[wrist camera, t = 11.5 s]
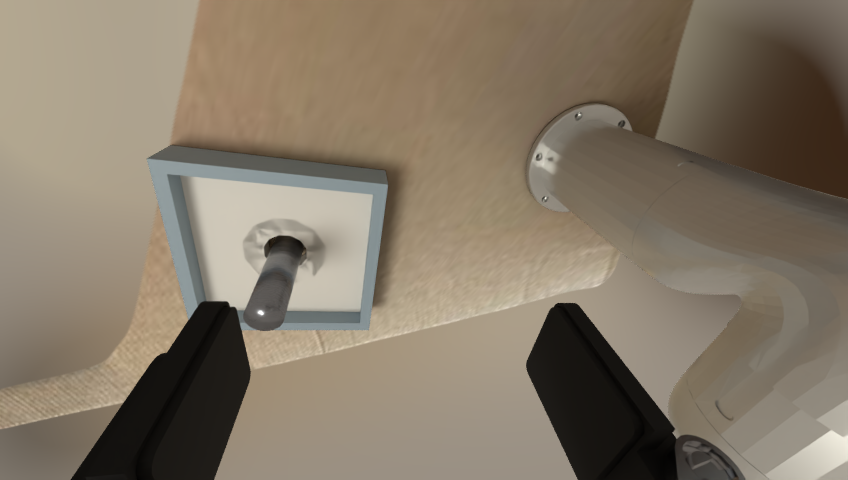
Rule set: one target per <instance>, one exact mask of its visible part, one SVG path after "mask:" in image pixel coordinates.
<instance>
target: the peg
mask: <svg viewBox="0 0 848 480" xmlns="http://www.w3.org/2000/svg"><path fill="white" fill-rule="evenodd" d="M303 249H304V245H303V243H302V242H301V241H300V240H298V239H296V238H294V237H292V236H285V235H278V236H276V238H275V241H274V243H273V245H272V248H271V250H270V252H269V255H268V257H267V259H266V262H265V264H264V266H263V269H262V271H261V273H260V276H259V278H258V280H257V283H256V285H255V287H254V290H253V292H252V294H251V297H250V299H249V302H248V304H247V306H246V309H245V311H244V313H243V319H244V321H245V323H246V324H247V325H248V326H250V327H251V328H253V329H256V330H260V331H270V330H274V329H277V328H278V327H280V326H281V325H282V324H283V322H284V319H285V315H286V311H287V308H288V304H289V300H290V297H291V293H292V289H293V286H294V282H295V278H296V275H297V271H298V267H299V264H300V260H301V256H302V252H303Z"/></svg>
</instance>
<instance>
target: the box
mask: <svg viewBox="0 0 848 480" xmlns="http://www.w3.org/2000/svg"><path fill="white" fill-rule="evenodd" d="M147 162H148V165H149V169H150V173H151V177H152V181H153V185H154V188H155V192H156V196H157V200H158V204H159V208H160V212H161V215H162V219H163V223H164V227H165V231H166V235H167V239H168V242H169V246H170V250H171V254H172V258H173V262H174V265H175V269H176V273H177V277H178V281H179V285H180V289H181V292H182V296H183V300H184V304H185V308H186V312H187V315H188V319H190V317H191V316H192V314H193V313H194V311H195V310H196V308H197V307H198V305H199V304H200V303H201V302H203V301H227V302H228V303H229V304H230V307H236V309H237V313H238V317H239V322H240V326H241V330H256V329H253V328H251V327H250V326H248V325H247V324H246V323H245V321H244V319H243V313H244V311H245V309H246V306H247V304H248V302H249V299H250V297H251V294H252V292H253V290H254V287H255V285H256V283H257V280H258V278H259V276H260V273H261V271H262V269H263V266H264V264H265V262H266V259H267V257H268V255H269V252H270V250H271V248H270V247H269V241H268V240H269V239H271V238H273V237H276V236H278V235H285V236H292V237H294V238H296V239H298V240H300V241H301V242H302V243H303V245H304V246H305V248H306V249H307V252H306V253H305V254H304V255H303V256H301V260H300V264H299V267H298V271H297V275H296V278H295V282H294V286H293V289H292V293H291V297H290V300H289V304H288V308H287V311H286V315H285V319H284V322H283V324H282V325H281V326H280V327H278V328H277V329H274V330H369V325H370V318H371V310H372V303H373V295H374V288H375V280H376V272H377V265H378V257H379V250H380V242H381V235H382V227H383V219H384V212H385V204H386V197H387V189H388V182H387V176H386V171H385V170H376V169H368V168H359V167H351V166H343V165H334V164H326V163H317V162H309V161H300V160H292V159H283V158H275V157H266V156H258V155H250V154H241V153H233V152H224V151H216V150H207V149H199V148H190V147H182V146H173V145H170V146H168V147H167V148H165V149H163V150H161V151H159V152H158V153H156V154H154V155H152V156H151V157H149V158H147Z"/></svg>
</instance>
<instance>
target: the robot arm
mask: <svg viewBox="0 0 848 480" xmlns="http://www.w3.org/2000/svg"><path fill="white" fill-rule="evenodd" d="M536 155H537V156H536ZM526 180H527V186H528V188H529V190H530V193H531V194H532V196H533V197H534V198H535V200H537V201H538V202H539V203H540V204H541V205H542V206H544V207H546V208H547V209H550V210H553V211H556V212H572V213H573V214H575V215H576V216H577V217H578V218H579V219H581V220H582V221H583V222H584V223H586V224H587V225H588V226H589V227H590V228H592V229H593V230H594V231H595V232H597V233H598V234H599V235H600V236H601V237H603V238H604V239H605V240H606V241H608V242H609V243H610V244H611V245H612V246H614V247H615V248H616V249H617V250H619V251H620V252H621V253H622V254H623V255H625V256H626V257H627V258H628V259H630V260H631V261H632V262H633V263H635V264H636V265H637V266H638V267H640V268H641V269H642V270H644V271H645V272H646V273H647V274H648V275H650V276H651V277H652V278H654V279H655V280H657V281H658V282H660V283H662V284H664V285H666V286H668V287H670V288H673V289H676V290H679V291H683V292H688V293H695V294H737V295H738V296H739V297H740V298H741V306H740V308H739V310H738V312H737V313H736V314H735V315H734V316H733V318H732V319H731V320H730V321H729V322H728V324H727V327H726V328H725V329H724V330H723V331H722V332H721V333H720V335H718V337H717V338H716V339H715V340H714V341H713V342H712V343H711V344H710V345H709V346H708V347H707V349H706V350H705V351H704V352H703V353H702V354H701V355H700V356H699V357H698V358H697V359H696V361H695V362H694V363H693V364H692V365H691V366H690V367H689V368H688V369H687V371H686V372H685V373H684V374H683V375H682V377H681V378H680V379H679V381H678V382H677V383H676V385H675V386H674V388H673V391H672V393H671V395H670V398H669V403H668V415H669V420H670V421H669V420H668V419H667V418H666V416H665V415H664V414H663V413H662V411H661V410H660V409H659V407H658V406H657V405H656V403H655V402H654V401H653V400H652V398H651V397H650V396H649V394H648V393H647V392H646V391H645V389H644V388H643V387H642V386H641V384H640V383H639V382H638V380H637V379H636V378H635V377H634V375H633V374H632V373H631V372H630V370H629V369H628V368H627V367H626V365H625V364H624V363H623V361H622V360H621V359H620V357H619V356H618V355H617V354H616V353H615V351H614V350H613V349H612V347H611V346H610V345H609V344H608V342H607V341H606V340H605V338H604V337H603V336H602V334H601V333H600V332H599V331H598V330H597V328H596V327H595V325H594V324H593V323H592V322H591V320H590V319H589V318H588V317H587V315H586V314H585V313H584V311H583V310H582V309H581V308H580V306H579V305H577V304H575V303H557V304H556V305H555V306H554V308H551V309H550V311H549V313H548V315H547V317H546V320H545V322H544V324H543V326H542V328H541V331H540V333H539V335H538V337H537V340H536V342H535V344H534V347H533V349H532V351H531V353H530V355H529V357H528V360H527V363H526V368H527V372H528V374H529V376H530V378H531V381H532V383H533V385H534V387H535V389H536V391H537V394H538V396H539V398H540V400H541V402H542V404H543V406H544V408H545V411H546V413H547V415H548V417H549V419H550V421H551V423H552V425H553V427H554V430H555V432H556V434H557V436H558V438H559V440H560V443H561V445H562V447H563V449H564V451H565V453H566V455H567V457H568V460H569V462H570V464H571V466H572V468H573V470H574V472H575V474H576V477H577V479H578V480H848V199H844V198H840V197H836V196H831V195H828V194H825V193H821V192H818V191H814V190H811V189H807V188H804V187H800V186H796V185H793V184H789V183H787V182H784V181H780V180H777V179H774V178H771V177H768V176H765V175H762V174H759V173H756V172H753V171H750V170H747V169H744V168H740V167H738V166H734V165H730V164H727V163H724V162H721V161H718V160H715V159H712V158H709V157H706V156H704V155H701V154H698V153H695V152H692V151H689V150H686V149H683V148H680V147H677V146H674V145H671V144H668V143H665V142H662V141H659V140H656V139H653V138H650V137H647V136H645V135H642V134H639V133H636V132H633V131H632V127H631V125H630V123H629V120H628V119H627V118H626V116H625V115H624V114H623V113H622V112H620V111H619V110H617V109H616V108H614V107H611V106H608V105H604V104H599V103H589V104H583V105H579V106H576V107H573V108H571V109H569V110H567V111H565V112H563V113H562V114H560V115H559V116H557V117H556V118H555V119H554V120H552V121H551V122H550V123H549V124H548V125H547V126H546V127H545V128H544V130H543V131H542V132H541V133H540V135H539V136H538V138H537V139H536V141H535V143H534V144H533V146H532V149H531V151H530V154H529V156H528V160H527V165H526ZM250 372H251V371H250V366H249V361H248V357H247V353H246V348H245V344H244V339H243V335H242V330H241V326H240V322H239V317H238V313H237V309H236V307H230V304H229V303H228V302H227V301H203V302H201V303H200V304H199V305H198V307H197V308H196V310H195V311H194V313H193V314H192V316H191V317H190V319H189V320H188V322H187V323H186V325H185V326H184V328H183V329H182V331H181V332H180V334H179V335H178V337H177V338H176V340H175V341H174V343H173V344H172V346H171V347H170V349H169V350H168V352H167V353H162V354H160V355H159V356H157V357H156V358H155V359H154V360H153V361H152V363H151V364H150V365H149V367H148V368H147V370H146V371H145V373H144V374H143V376H142V377H141V378H140V380H139V381H138V383H137V384H136V386H135V387H134V389H133V390H132V391H131V393H130V394H129V396H128V397H127V399H126V400H125V402H124V403H123V405H122V406H121V408H120V409H119V410H118V412H117V413H116V415H115V416H114V418H113V419H112V421H111V422H110V423H109V425H108V426H107V428H106V429H105V431H104V432H103V434H102V435H101V436H100V438H99V439H98V441H97V442H96V444H95V445H94V447H93V448H92V449H91V451H90V452H89V454H88V455H87V457H86V458H85V460H84V461H83V463H82V464H81V465H80V467H79V468H78V470H77V471H76V473H75V474H74V476H73V477H72V479H71V480H214V478H215V475H216V473H217V470H218V467H219V464H220V461H221V459H222V456H223V453H224V450H225V448H226V445H227V442H228V439H229V436H230V434H231V431H232V428H233V426H234V423H235V420H236V417H237V415H238V412H239V409H240V406H241V404H242V401H243V398H244V395H245V392H246V390H247V387H248V384H249V380H250ZM672 432H674V434H675V436H676V437H677V439H676V437H675V436H674V435H673V433H672Z"/></svg>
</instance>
